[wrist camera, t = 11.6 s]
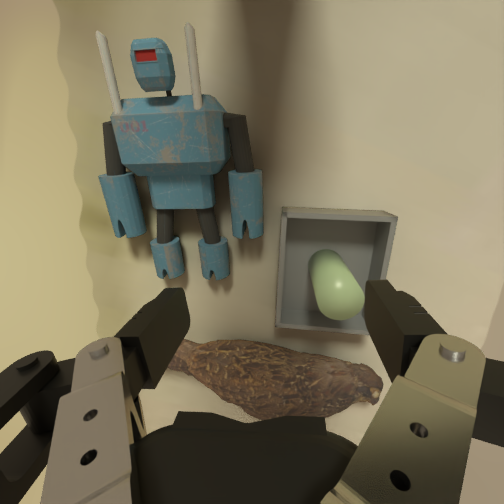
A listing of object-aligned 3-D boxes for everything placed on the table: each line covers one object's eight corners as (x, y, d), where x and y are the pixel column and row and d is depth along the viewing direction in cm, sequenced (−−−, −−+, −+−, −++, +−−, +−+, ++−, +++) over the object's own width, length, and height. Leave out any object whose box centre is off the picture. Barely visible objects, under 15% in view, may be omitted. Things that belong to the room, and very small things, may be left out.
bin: (282, 206, 38) (282, 212, 34) (383, 210, 37) (398, 216, 32) (276, 310, 44) (275, 327, 39) (364, 317, 42) (374, 335, 37)
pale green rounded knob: (309, 247, 39) (320, 277, 29) (345, 250, 39) (368, 281, 28) (306, 279, 41) (314, 317, 30) (340, 281, 40) (360, 322, 30)
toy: (112, 286, 39) (29, 31, 26) (142, 258, 47) (91, 54, 34) (262, 290, 36) (254, 9, 23) (266, 260, 44) (262, 40, 31)
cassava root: (358, 391, 49) (371, 346, 46) (385, 451, 38) (405, 398, 35) (144, 366, 48) (143, 320, 45) (112, 420, 38) (109, 364, 35)
